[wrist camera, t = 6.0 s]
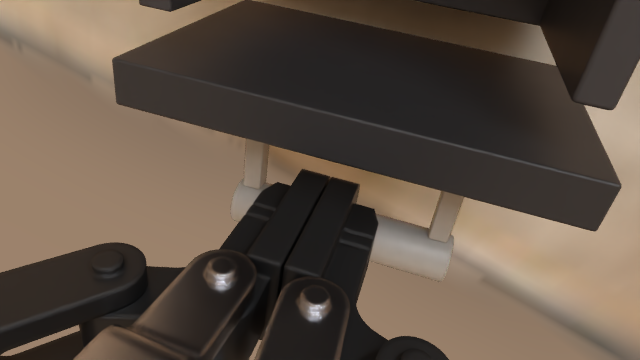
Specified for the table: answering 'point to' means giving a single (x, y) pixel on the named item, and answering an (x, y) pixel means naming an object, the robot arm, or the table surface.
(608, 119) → the table surface
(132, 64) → the drawer
